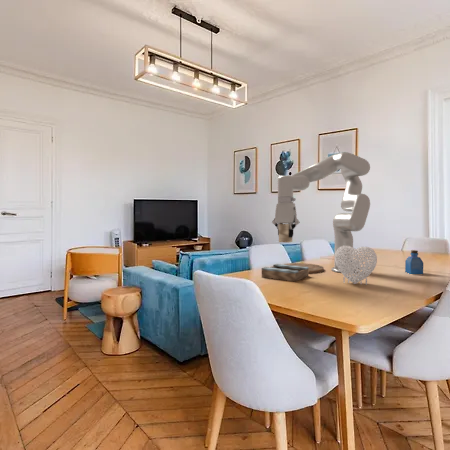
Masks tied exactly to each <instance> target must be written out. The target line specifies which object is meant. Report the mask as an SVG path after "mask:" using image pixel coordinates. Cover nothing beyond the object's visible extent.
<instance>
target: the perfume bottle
mask: <svg viewBox="0 0 450 450" xmlns="http://www.w3.org/2000/svg"><path fill="white" fill-rule="evenodd" d="M418 252H419V251H418V250H415V249H414V250H413V249H411V250H410V255H409V256H407V258H406V259H405V260H404V261H405V265H404V266H405V267H404V271H405V272H404V273H406V272H407V273H406V274H408V273H409V274H408V275H410V274H423V275H424V262H423V260H422V258H421V257H419V253H418Z"/></svg>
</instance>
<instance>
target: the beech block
mask: <svg viewBox="0 0 450 450" xmlns="http://www.w3.org/2000/svg"><path fill="white" fill-rule="evenodd" d="M289 229H290V227H289V224H288V223H283V224H279V235H278V243H292V242H293V237H289Z"/></svg>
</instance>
